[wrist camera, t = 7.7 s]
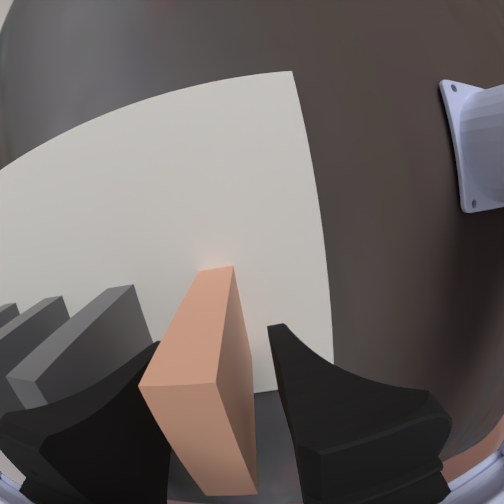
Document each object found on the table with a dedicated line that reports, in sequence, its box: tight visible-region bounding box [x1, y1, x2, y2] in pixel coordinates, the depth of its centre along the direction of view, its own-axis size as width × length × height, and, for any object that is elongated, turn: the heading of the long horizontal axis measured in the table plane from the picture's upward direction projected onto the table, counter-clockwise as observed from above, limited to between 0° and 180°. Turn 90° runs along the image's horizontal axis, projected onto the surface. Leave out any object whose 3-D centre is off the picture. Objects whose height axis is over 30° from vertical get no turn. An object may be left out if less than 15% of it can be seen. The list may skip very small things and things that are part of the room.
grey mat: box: [0, 71, 334, 393], centre depth 13 cm, size 28×16×1 cm, turn 100°
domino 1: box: [0, 296, 70, 419], centre depth 9 cm, size 2×5×8 cm, turn 11°
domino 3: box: [138, 265, 258, 496], centre depth 9 cm, size 2×5×8 cm, turn 10°
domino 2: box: [6, 284, 153, 409], centre depth 9 cm, size 2×5×8 cm, turn 10°
